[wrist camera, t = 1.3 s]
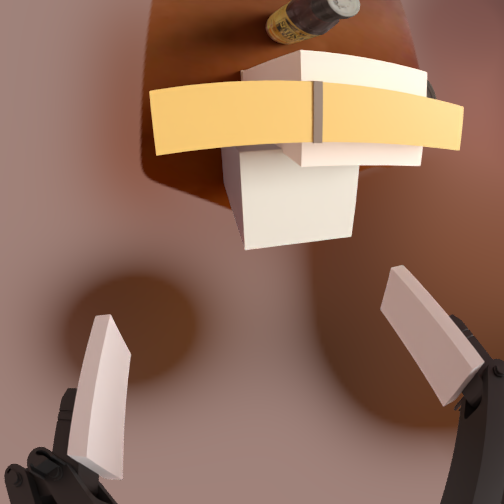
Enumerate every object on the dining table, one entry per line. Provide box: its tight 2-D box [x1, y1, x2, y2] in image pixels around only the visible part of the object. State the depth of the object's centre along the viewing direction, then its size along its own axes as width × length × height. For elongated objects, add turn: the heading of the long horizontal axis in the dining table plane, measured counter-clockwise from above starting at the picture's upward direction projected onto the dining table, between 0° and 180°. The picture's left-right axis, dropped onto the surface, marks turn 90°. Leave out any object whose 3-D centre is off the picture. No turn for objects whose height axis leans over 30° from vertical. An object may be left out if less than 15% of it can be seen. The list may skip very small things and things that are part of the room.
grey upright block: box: [221, 144, 359, 250], centre depth 38 cm, size 12×10×22 cm
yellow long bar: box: [149, 80, 464, 156], centre depth 18 cm, size 24×4×3 cm, turn 92°
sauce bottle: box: [265, 0, 360, 44], centre depth 28 cm, size 6×6×20 cm
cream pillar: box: [241, 50, 427, 167], centre depth 31 cm, size 12×9×27 cm
